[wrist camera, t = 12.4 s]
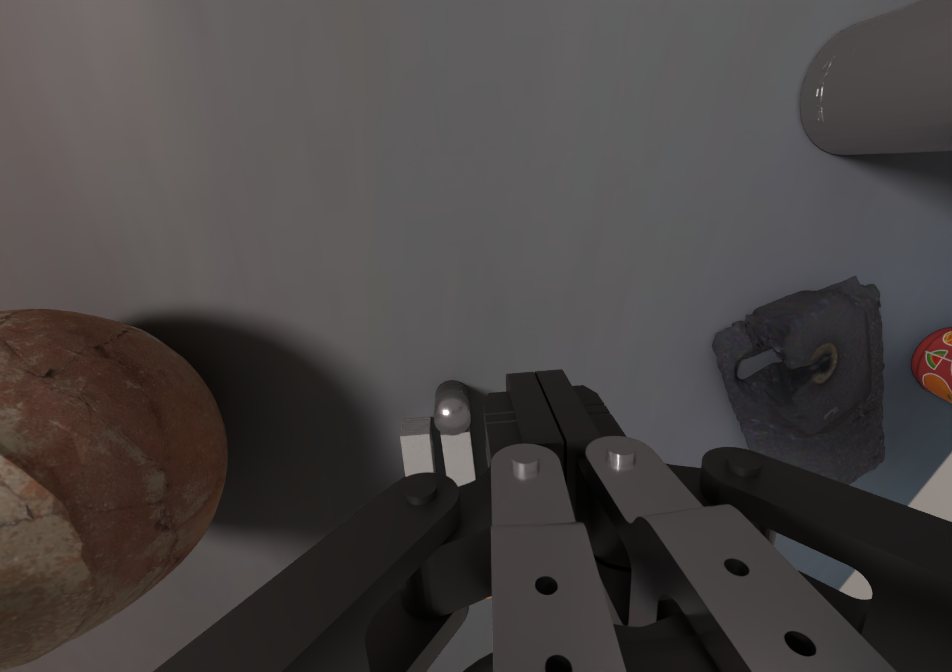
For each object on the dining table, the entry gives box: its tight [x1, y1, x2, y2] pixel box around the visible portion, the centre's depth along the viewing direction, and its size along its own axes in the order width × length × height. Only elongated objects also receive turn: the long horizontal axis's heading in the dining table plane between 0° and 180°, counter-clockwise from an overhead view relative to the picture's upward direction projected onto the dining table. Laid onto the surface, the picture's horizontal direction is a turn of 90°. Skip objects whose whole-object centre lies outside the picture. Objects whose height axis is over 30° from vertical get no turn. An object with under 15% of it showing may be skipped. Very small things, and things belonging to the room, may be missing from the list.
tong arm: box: [441, 426, 491, 599], centre depth 44 cm, size 19×3×3 cm, turn 6°
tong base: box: [400, 380, 471, 477], centre depth 43 cm, size 22×6×4 cm, turn 4°
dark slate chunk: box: [712, 276, 885, 485], centre depth 43 cm, size 15×22×5 cm
